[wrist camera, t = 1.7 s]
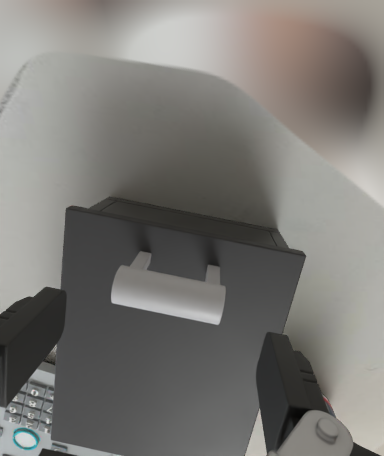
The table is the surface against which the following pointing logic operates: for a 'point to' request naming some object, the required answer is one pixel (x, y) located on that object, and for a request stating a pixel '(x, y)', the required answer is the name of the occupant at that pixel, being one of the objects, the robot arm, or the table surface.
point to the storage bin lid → (164, 335)
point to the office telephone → (34, 419)
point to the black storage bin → (191, 221)
